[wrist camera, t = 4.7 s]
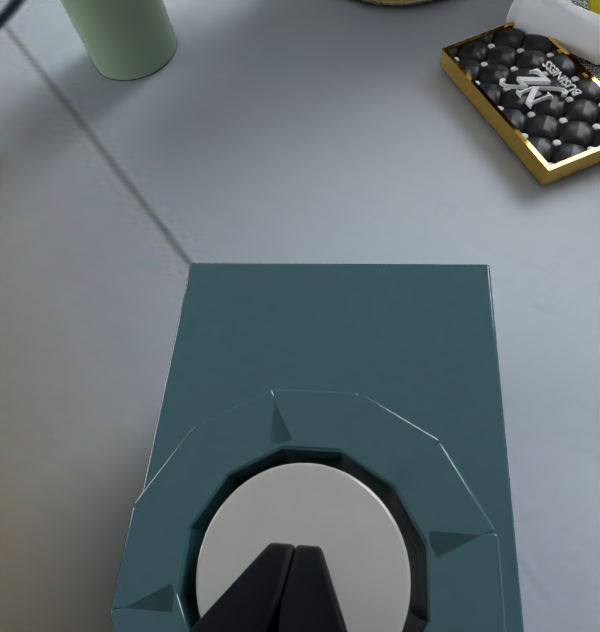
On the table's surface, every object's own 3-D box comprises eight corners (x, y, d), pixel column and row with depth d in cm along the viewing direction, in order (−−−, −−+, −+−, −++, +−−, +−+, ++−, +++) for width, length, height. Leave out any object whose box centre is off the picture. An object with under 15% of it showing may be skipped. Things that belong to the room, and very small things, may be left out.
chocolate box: (653, 125, 22) (550, 167, 22) (641, 145, 23) (542, 185, 23) (530, 11, 26) (442, 45, 26) (524, 32, 27) (439, 64, 27)
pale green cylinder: (150, 87, 29) (101, -25, 24) (78, 72, 30) (17, -36, 25) (192, 30, 31) (155, -84, 26) (123, 19, 32) (74, -92, 27)
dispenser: (471, 723, 15) (587, 880, 7) (196, 688, 16) (22, 786, 8) (452, 366, 20) (507, 214, 12) (243, 359, 21) (165, 217, 13)
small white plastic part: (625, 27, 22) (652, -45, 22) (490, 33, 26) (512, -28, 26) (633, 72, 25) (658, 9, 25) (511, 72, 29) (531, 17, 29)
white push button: (405, 695, 9) (413, 720, 8) (211, 672, 10) (176, 690, 8) (404, 488, 11) (410, 467, 9) (237, 476, 12) (212, 455, 10)
